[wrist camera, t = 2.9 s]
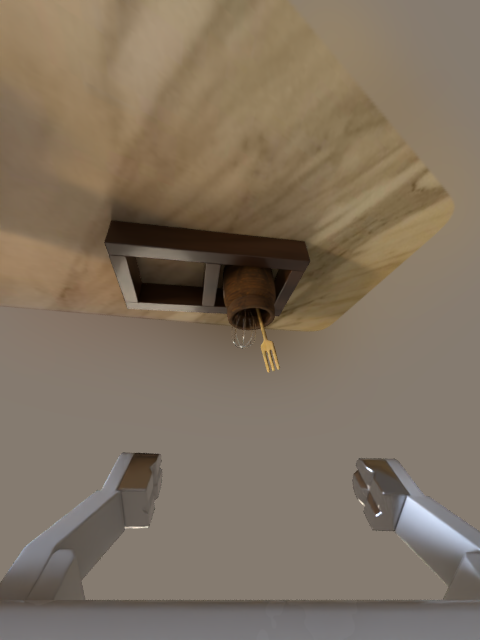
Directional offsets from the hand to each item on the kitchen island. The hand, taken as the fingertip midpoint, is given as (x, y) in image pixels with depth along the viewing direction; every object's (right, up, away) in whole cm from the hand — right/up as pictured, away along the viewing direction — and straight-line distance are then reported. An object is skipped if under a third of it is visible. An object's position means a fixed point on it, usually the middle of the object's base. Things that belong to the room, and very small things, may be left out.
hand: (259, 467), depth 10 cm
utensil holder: (0, +12, +20) cm, 24 cm away
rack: (-4, +12, +19) cm, 23 cm away
